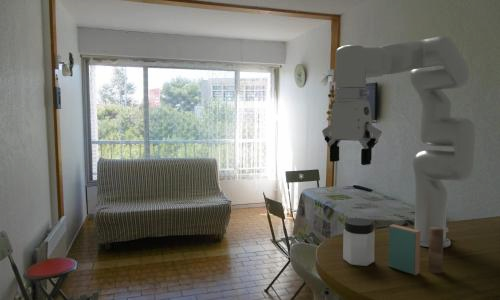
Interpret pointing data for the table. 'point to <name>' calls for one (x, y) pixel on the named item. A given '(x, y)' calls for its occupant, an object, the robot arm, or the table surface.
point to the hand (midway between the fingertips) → (349, 162)
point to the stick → (435, 249)
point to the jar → (358, 241)
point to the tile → (404, 249)
